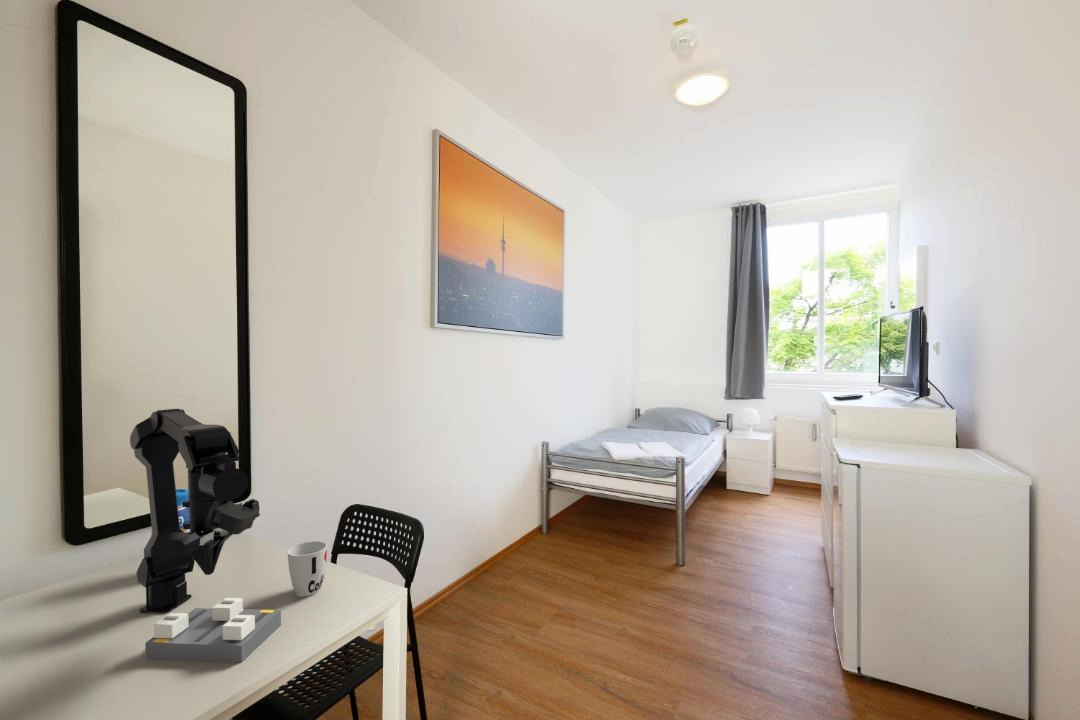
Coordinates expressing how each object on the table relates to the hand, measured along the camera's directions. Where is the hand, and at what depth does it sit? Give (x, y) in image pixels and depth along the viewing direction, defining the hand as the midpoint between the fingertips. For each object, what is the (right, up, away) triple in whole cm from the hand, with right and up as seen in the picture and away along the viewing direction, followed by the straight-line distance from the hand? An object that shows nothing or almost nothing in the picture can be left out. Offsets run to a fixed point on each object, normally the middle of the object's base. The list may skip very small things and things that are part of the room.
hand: (209, 574), depth 86 cm
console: (+2, -13, -1) cm, 13 cm away
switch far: (+8, -9, -4) cm, 13 cm away
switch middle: (+2, -9, +2) cm, 10 cm away
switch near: (-5, -9, -3) cm, 11 cm away
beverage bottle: (-29, -13, +28) cm, 42 cm away
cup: (+10, -13, +18) cm, 24 cm away
